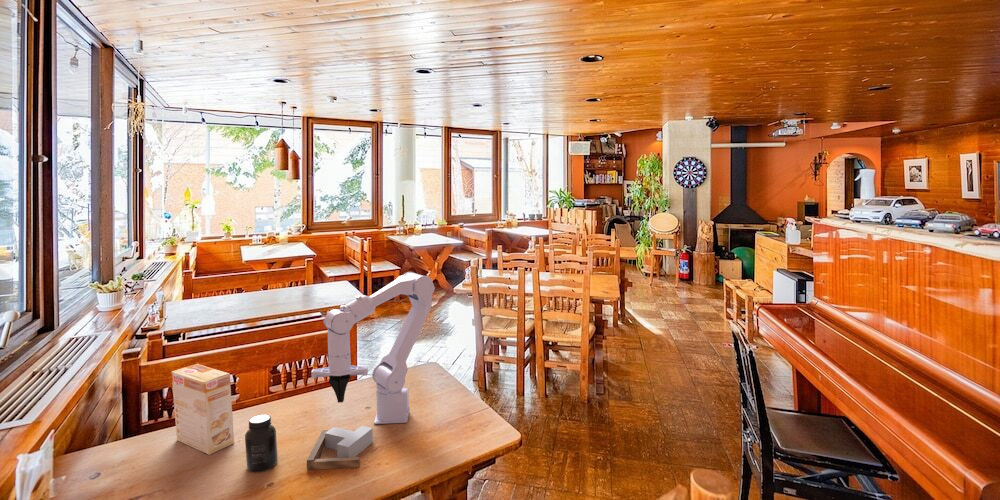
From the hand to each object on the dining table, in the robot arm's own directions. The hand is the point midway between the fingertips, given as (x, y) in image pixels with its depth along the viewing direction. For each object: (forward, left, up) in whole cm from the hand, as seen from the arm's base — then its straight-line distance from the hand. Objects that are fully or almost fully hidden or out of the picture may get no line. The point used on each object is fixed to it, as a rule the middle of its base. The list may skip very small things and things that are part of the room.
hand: (340, 400), depth 131 cm
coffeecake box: (+35, +2, -10) cm, 36 cm away
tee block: (-3, +8, -9) cm, 13 cm away
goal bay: (-1, +10, -9) cm, 14 cm away
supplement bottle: (+16, +14, -10) cm, 23 cm away
